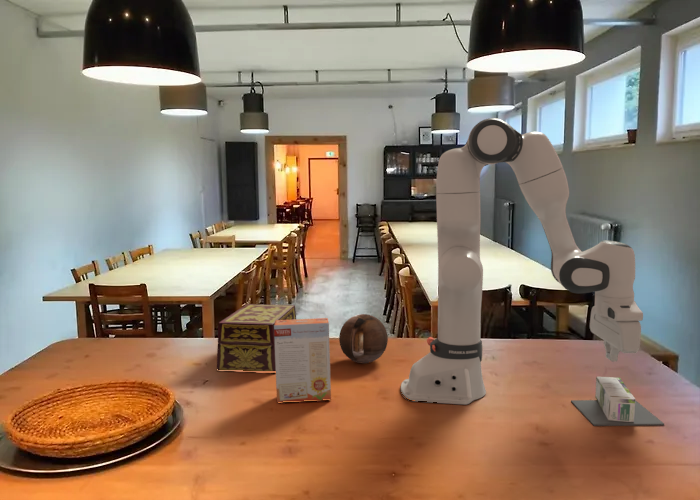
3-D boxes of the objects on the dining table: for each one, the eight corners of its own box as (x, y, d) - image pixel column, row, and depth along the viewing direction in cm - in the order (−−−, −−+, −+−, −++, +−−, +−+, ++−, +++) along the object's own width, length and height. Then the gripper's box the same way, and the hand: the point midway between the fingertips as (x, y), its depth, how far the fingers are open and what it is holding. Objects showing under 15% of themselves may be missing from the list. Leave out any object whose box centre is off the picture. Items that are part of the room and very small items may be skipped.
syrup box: (618, 398, 146) (635, 423, 131) (593, 397, 147) (608, 421, 132) (619, 377, 145) (637, 399, 131) (595, 375, 146) (609, 397, 132)
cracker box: (330, 393, 153) (328, 316, 151) (331, 402, 147) (329, 322, 145) (277, 395, 152) (275, 318, 150) (276, 404, 146) (273, 324, 144)
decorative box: (247, 345, 199) (245, 302, 197) (299, 347, 196) (298, 304, 194) (216, 372, 172) (213, 323, 170) (276, 374, 169) (274, 325, 167)
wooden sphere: (357, 351, 189) (357, 307, 187) (396, 359, 180) (396, 313, 178) (329, 364, 177) (328, 316, 175) (370, 373, 168) (369, 323, 166)
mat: (593, 425, 131) (593, 424, 131) (571, 401, 145) (571, 400, 145) (664, 425, 131) (664, 423, 131) (634, 401, 145) (634, 399, 145)
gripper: (584, 297, 153) (582, 347, 155) (619, 316, 132) (617, 373, 134) (608, 296, 153) (606, 347, 155) (647, 315, 132) (644, 373, 134)
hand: (611, 359), depth 144 cm, fingers closed
